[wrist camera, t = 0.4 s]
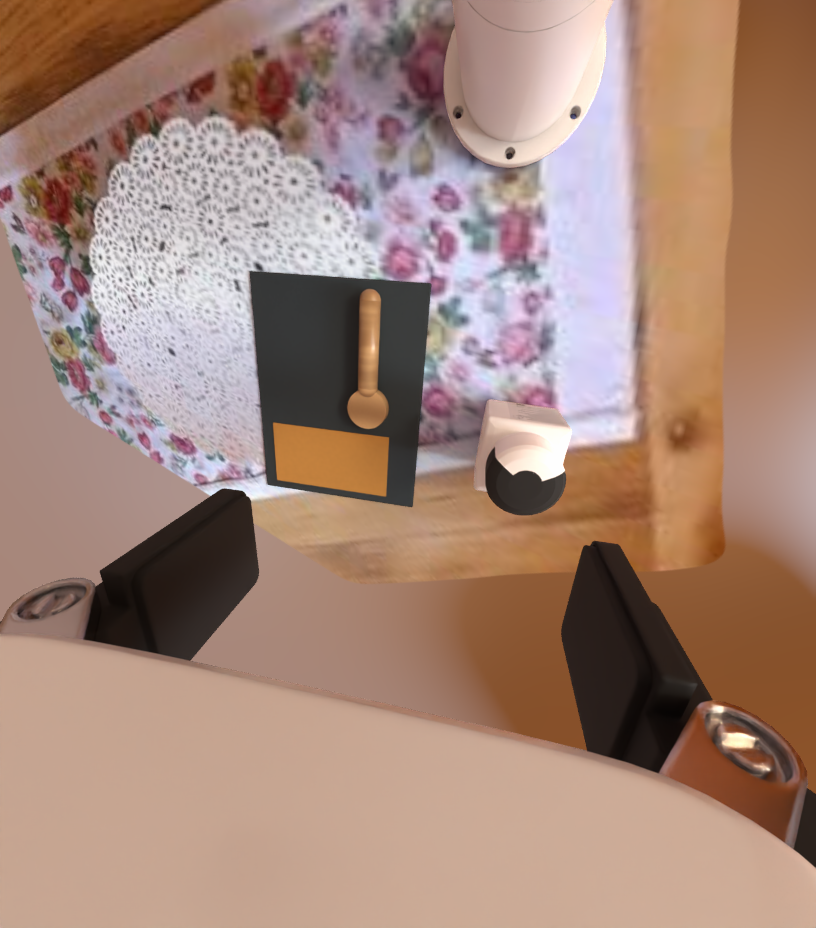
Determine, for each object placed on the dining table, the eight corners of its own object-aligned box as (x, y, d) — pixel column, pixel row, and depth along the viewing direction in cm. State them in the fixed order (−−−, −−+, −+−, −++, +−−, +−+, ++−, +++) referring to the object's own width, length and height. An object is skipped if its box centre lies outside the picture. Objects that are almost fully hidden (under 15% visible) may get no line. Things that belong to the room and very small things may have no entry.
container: (541, 473, 44) (561, 534, 33) (475, 461, 45) (470, 517, 34) (559, 408, 41) (587, 449, 30) (487, 397, 42) (487, 433, 31)
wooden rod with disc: (352, 287, 40) (345, 286, 38) (394, 290, 40) (389, 290, 38) (350, 423, 46) (344, 428, 44) (388, 427, 46) (383, 433, 44)
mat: (250, 271, 42) (249, 271, 42) (431, 283, 39) (430, 283, 39) (268, 484, 52) (267, 485, 52) (412, 506, 49) (412, 507, 49)
